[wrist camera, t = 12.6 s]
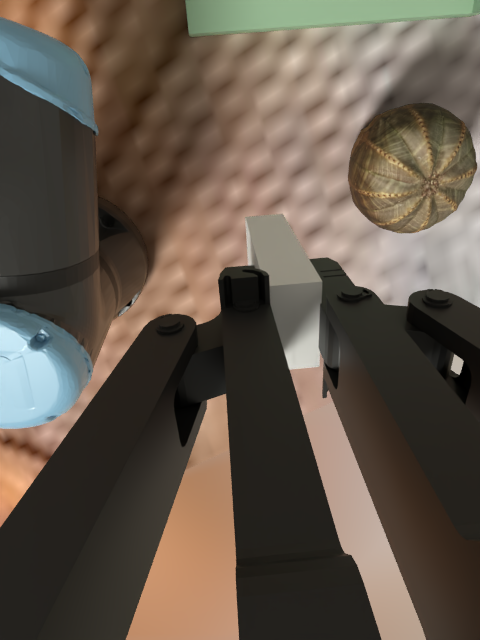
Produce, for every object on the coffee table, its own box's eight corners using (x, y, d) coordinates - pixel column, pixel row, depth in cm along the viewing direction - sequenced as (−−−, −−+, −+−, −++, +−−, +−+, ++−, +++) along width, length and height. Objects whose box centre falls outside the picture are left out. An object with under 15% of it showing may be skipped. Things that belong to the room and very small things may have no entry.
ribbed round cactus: (322, 122, 42) (359, 133, 31) (429, 86, 41) (505, 85, 30) (340, 223, 47) (377, 261, 36) (435, 193, 46) (502, 224, 35)
